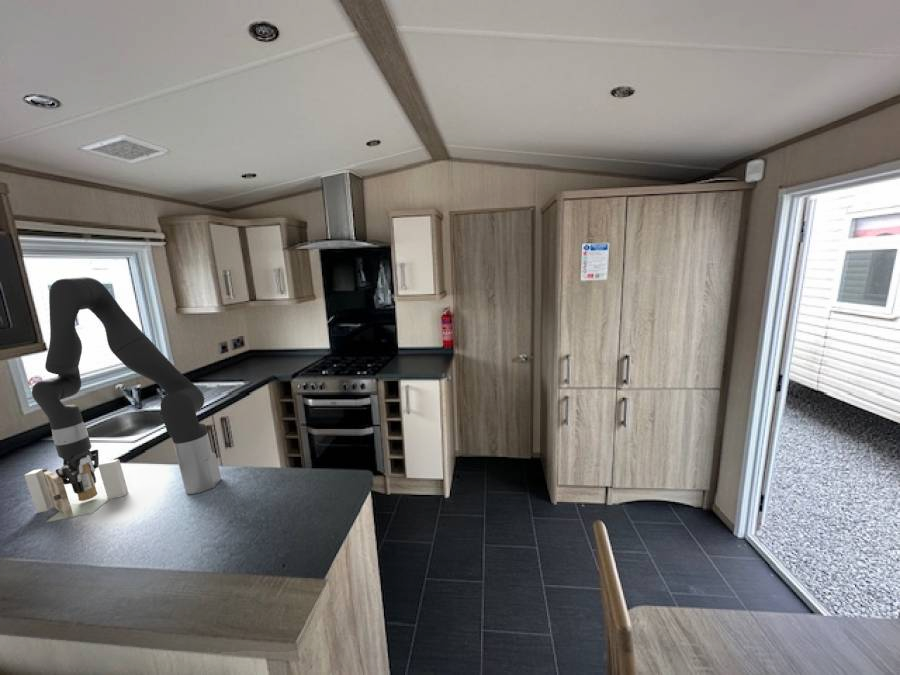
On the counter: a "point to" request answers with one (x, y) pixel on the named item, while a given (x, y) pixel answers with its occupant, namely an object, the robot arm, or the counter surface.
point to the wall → (113, 478)
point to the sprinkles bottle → (86, 482)
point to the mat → (81, 509)
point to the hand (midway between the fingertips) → (86, 487)
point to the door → (57, 493)
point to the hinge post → (39, 490)
